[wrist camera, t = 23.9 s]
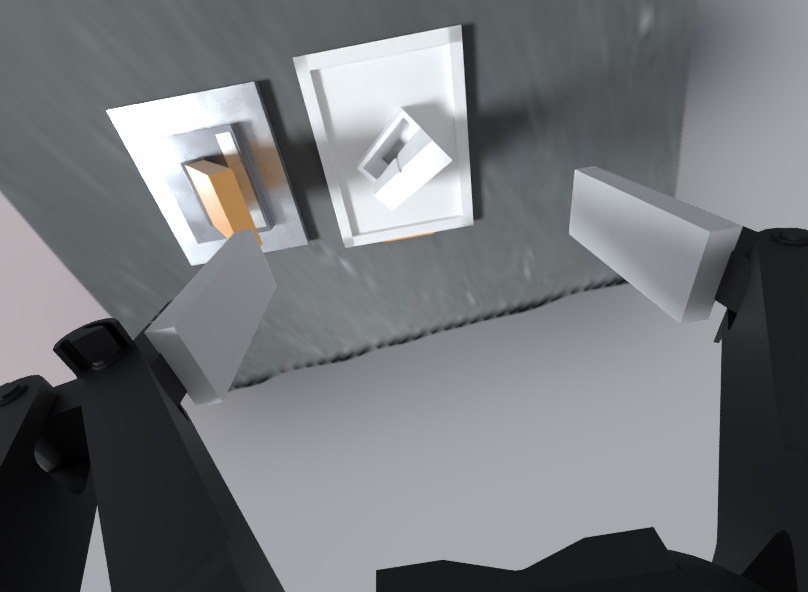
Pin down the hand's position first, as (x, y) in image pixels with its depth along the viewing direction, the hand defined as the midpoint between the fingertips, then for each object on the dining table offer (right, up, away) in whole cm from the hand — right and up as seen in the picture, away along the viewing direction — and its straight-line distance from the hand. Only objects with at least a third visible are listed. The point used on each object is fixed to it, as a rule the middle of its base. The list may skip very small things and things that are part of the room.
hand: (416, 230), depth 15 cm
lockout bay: (-1, +11, +17) cm, 20 cm away
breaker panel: (-17, +8, +18) cm, 26 cm away
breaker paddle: (-17, +6, +15) cm, 23 cm away
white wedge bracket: (-1, +10, +17) cm, 20 cm away
